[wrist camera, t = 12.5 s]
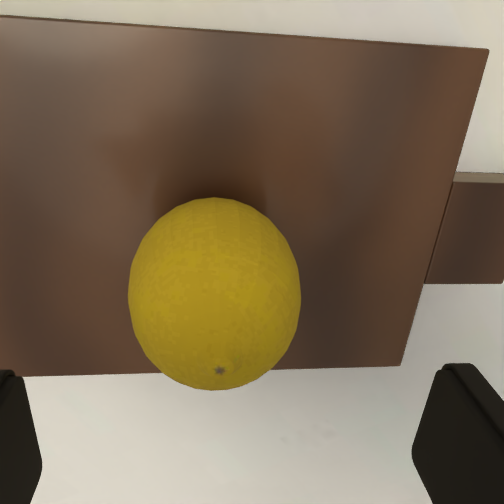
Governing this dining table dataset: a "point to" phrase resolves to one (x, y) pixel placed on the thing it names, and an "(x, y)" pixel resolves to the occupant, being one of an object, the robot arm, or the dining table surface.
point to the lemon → (214, 294)
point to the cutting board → (233, 179)
